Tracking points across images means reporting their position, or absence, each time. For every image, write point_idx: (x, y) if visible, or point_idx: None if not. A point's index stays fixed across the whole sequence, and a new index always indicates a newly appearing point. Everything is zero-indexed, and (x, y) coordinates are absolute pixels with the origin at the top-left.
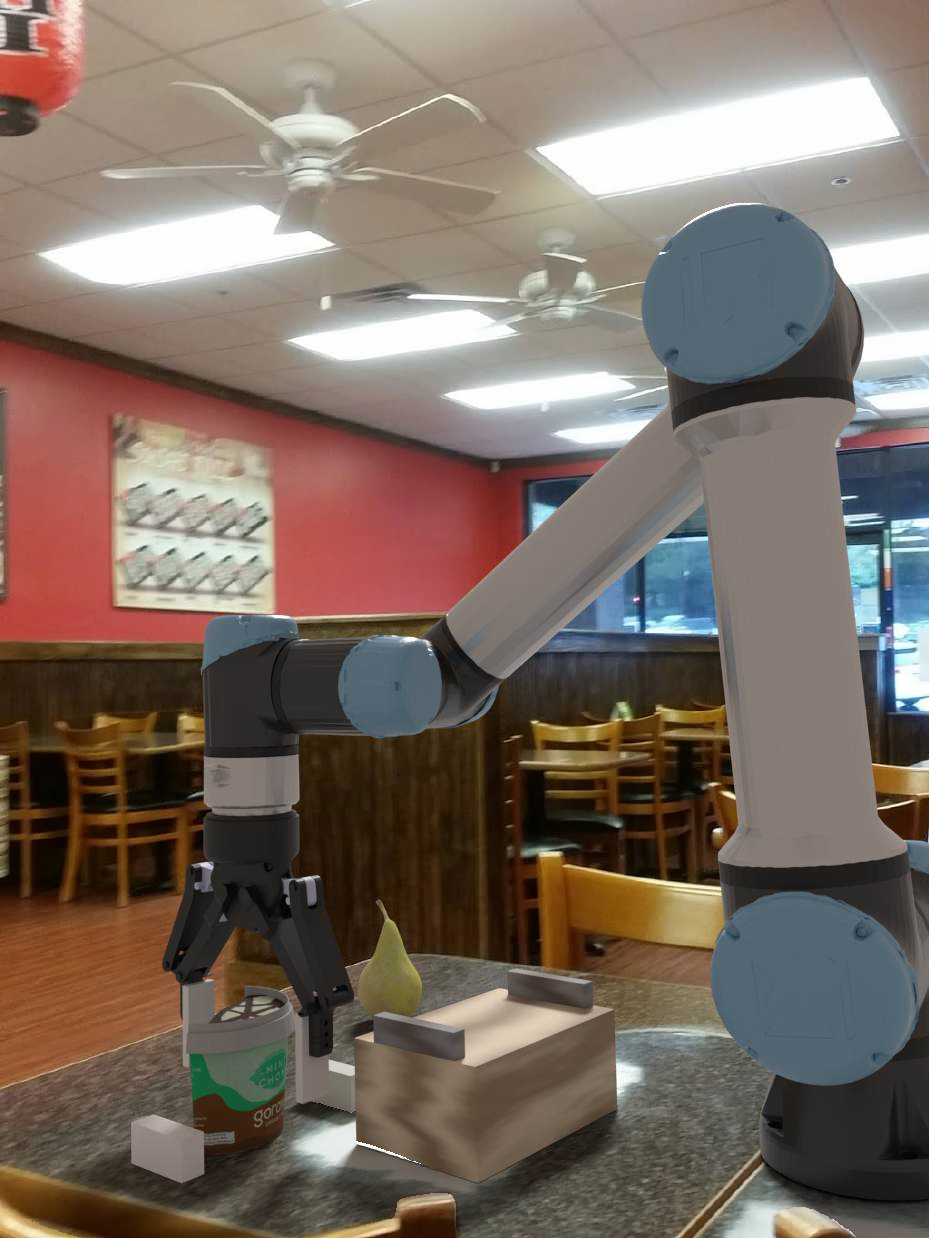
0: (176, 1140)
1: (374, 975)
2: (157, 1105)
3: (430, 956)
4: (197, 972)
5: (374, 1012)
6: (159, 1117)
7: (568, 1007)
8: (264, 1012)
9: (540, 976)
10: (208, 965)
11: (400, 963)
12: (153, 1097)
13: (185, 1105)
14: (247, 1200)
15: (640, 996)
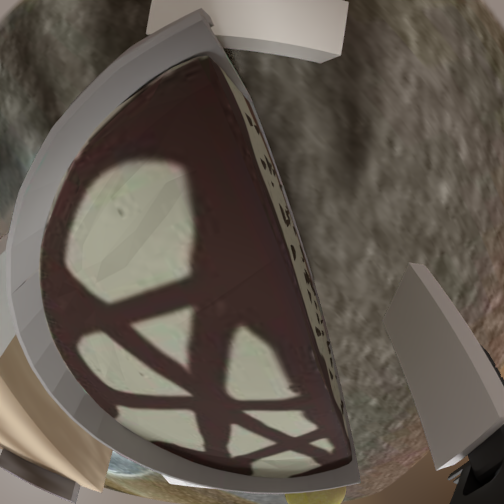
0: None
1: (320, 500)
2: (446, 242)
3: (353, 499)
4: (487, 466)
5: None
6: (311, 43)
7: (12, 452)
8: (192, 426)
9: (36, 485)
10: (460, 501)
11: None
12: (462, 262)
13: (410, 260)
14: (54, 37)
15: (183, 498)
